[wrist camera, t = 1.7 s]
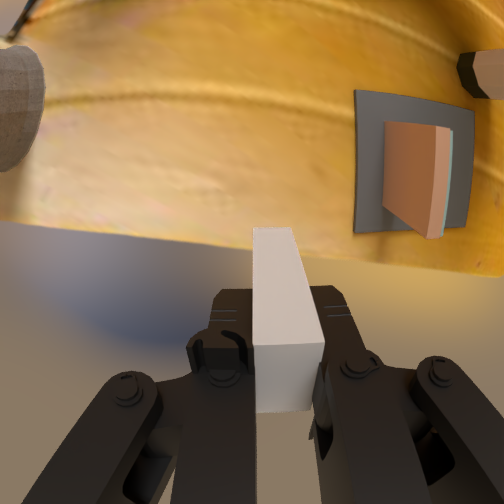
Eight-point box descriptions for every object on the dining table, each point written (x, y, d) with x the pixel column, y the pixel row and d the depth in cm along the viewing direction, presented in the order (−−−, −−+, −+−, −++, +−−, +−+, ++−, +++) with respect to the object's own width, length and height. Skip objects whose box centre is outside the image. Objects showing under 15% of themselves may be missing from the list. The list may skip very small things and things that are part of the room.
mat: (353, 230, 40) (355, 233, 39) (353, 90, 31) (355, 89, 30) (462, 225, 39) (465, 227, 39) (471, 111, 31) (474, 111, 30)
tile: (382, 205, 37) (426, 239, 26) (384, 120, 32) (435, 125, 21) (396, 205, 37) (442, 237, 26) (399, 122, 32) (452, 128, 21)
